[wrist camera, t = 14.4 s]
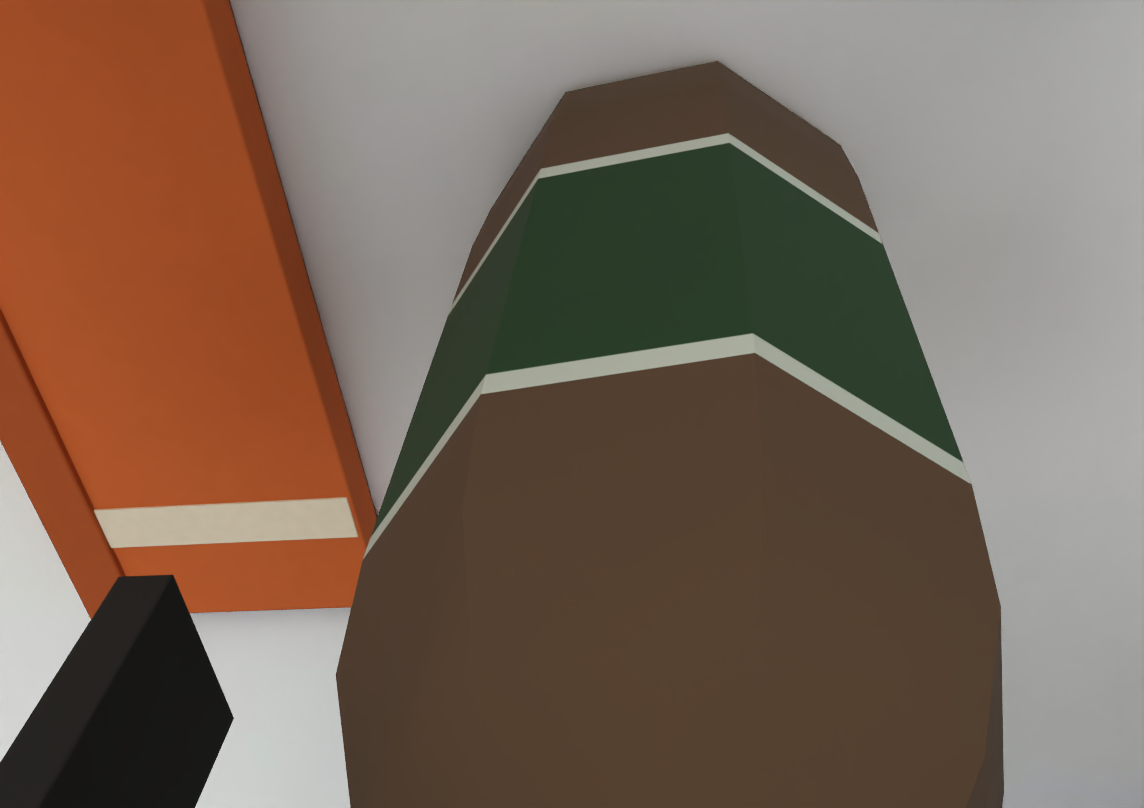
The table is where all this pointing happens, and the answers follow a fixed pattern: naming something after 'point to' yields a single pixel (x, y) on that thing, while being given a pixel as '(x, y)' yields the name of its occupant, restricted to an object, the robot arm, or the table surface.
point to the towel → (164, 317)
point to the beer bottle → (676, 495)
